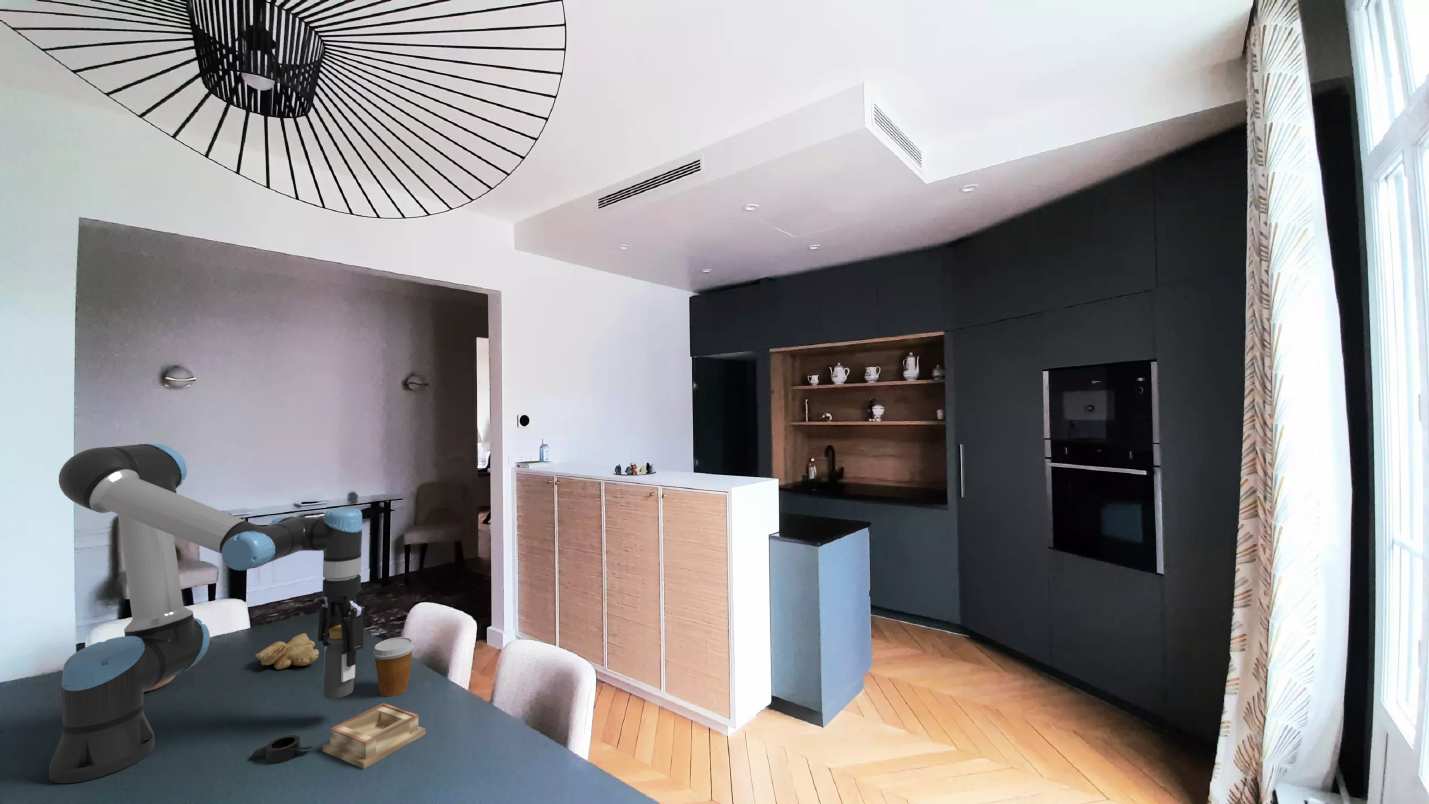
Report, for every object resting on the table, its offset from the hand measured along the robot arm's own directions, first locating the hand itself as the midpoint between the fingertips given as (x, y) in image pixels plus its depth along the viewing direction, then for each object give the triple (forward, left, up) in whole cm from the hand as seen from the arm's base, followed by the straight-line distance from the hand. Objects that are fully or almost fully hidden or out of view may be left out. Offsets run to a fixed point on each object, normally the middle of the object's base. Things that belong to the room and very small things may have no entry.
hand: (339, 675), depth 137 cm
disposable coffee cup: (-2, +15, -11) cm, 19 cm away
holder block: (+16, -2, -11) cm, 19 cm away
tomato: (-60, -12, -11) cm, 63 cm away
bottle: (0, 0, -4) cm, 4 cm away
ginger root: (-44, +12, -11) cm, 47 cm away
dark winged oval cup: (+3, -13, -11) cm, 17 cm away
